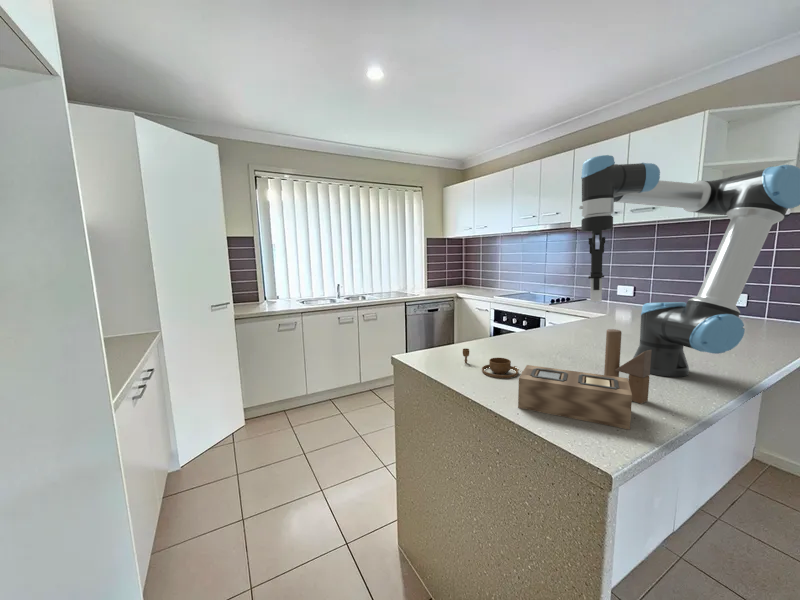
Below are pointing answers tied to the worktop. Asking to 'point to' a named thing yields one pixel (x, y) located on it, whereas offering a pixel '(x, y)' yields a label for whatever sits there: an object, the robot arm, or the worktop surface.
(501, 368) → the place setting
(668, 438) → the worktop surface
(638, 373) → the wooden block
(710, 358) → the worktop surface
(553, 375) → the grey metal peg
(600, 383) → the maple peg
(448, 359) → the worktop surface
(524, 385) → the walnut block
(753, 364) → the worktop surface
